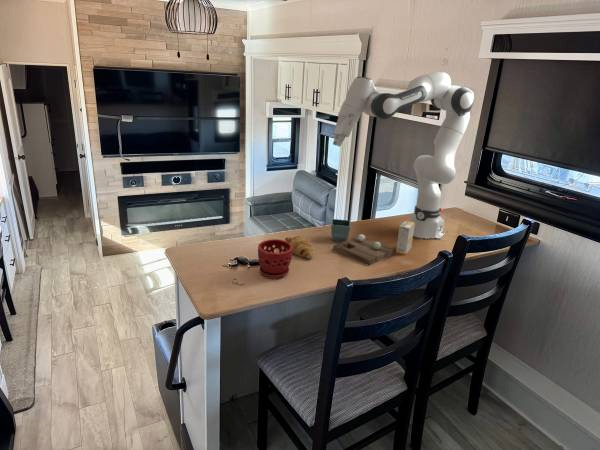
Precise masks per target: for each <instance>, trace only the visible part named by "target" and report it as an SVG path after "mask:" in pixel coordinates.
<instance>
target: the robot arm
mask: <svg viewBox="0 0 600 450" xmlns="http://www.w3.org/2000/svg"><path fill="white" fill-rule="evenodd" d="M429 101H430V103H431V105H432V106H433V107H434V108H435V109H438V110H442V111H445V118H444V119H443V121H442V123H441V125H440V128H439V130H438V132H437V134H436V136H435V138H434V140H433V145H434V152H433V153H434V154H433V155H429V154H422V155H419V156H417V158H416V159H415V160H414V162H413V170H414V172H415V175H416V179H417V180H416V181H417V197H416V205H415V206H414V211H413V214H412V215H411V217H410V221H409V222H413V223H415V226H414V233H413V237H415V238H418V239H419V238H420V239H423V238H425V239H426V240H430V239H429V238H437V239H436V240H439V239H440V238H441V237H442V236H443V235H444V234H445V233H444V234H443V233H441V232H442V231H443V229H444V228H445V219H443V217H441V212H443V207H440V205H441V200H442V191H441V189H440V186H439V184H440V185H448V184H451V183H452V182H453V181H454V180H455V177H456V174H457V172H456V167H455V159H456V153H457V150H458V148H459V145H460V143H461V141H462V140H463V137H464V134H465V133H466V130H467V129H468V125H469V123H470V119H471V114H470V111H471V110H472V107H473V105H474V101H475V95H474V91H472V90H471V89H470V88H468V87H465V86H459V85H452V81H451V77H450V75H449V74H448V73H446V72H444V71H438V72H437V71H436V72H430V73H426V74H423V75H419V76H417V77H415V78H413V79H411V80H410V81H409V83H408V85H407V89H406V90H403V91H400V92H398V93H388V92H379V90H378V89H377V88H376V86H375V83H374V80H373V79H371V78H369V77H365V76H356V77H354V79H353V81H352V82H351V84H350V85H349V88H348V90H347V93H346V97H345V100H344V101H343V102H342V105H341V106H340V110H339V111H338V114H337V117H338V118H337V121H336V124H335V126H334V131H333V134H334V140H333V143H332V144H333V145H334V146H337V147H341V146H342V144H343V142H344V141H345V139H346V138H349V137H350V135H351V133H352V130H353V128H354V125H355V123H358V122H359V119H360V117H361V115H362V113H364V114H365V115H366V116H369V117H374V118H378V119H380V120H381V119H383V120H388V119H391V118H392V117H393V116H394V115H396V113H398V112H399V111H400V110H402V109H405V108H408V107H410V106H413V105H415V104H421V103H425V102H429ZM445 235H446V234H445ZM445 235H444V236H445ZM444 236H443V237H444ZM443 237H442V238H443ZM427 238H428V239H427ZM425 239H424V240H425ZM440 240H441V239H440Z"/></svg>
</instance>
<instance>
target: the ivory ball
mask: <svg viewBox="0 0 600 450" xmlns="http://www.w3.org/2000/svg"><path fill="white" fill-rule="evenodd" d="M357 236H358V240H359V241H364V240H365V239H366V235H364V234H363V233H362V234H359V235H357Z"/></svg>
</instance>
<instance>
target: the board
mask: <svg viewBox="0 0 600 450" xmlns="http://www.w3.org/2000/svg"><path fill="white" fill-rule="evenodd" d="M358 236H359V235H357V236H354V237H351V238H349V239H347V240H346V241H343V242H338V243H336V244H333V245H332V252H335V253H338V254H341V255H343V256H345V257H347V258H350V259H352V260H355V261H357V262H360V263H362V264H365V265H367V266H368V267H369V266H371V265H374V264H376V263H378V262H380V261H382V260H384V259H386V258H389V257H390V256H393V255H394V252H395V249H394V248H391V247H389V246H387V245H384V244H381V248H380V249H375V248H374V247H373V244H374V243H375V242H376V241H373V240H370V239H367V238H365V240H364V241H359V240H358Z"/></svg>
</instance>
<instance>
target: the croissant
mask: <svg viewBox="0 0 600 450" xmlns="http://www.w3.org/2000/svg"><path fill="white" fill-rule="evenodd" d="M284 241H286V242H288V243H290V244H291V245H292V255H293V256H298V257H300V258H306V259H307V260H311V259H314V250H313V247H312V245H311V244H310V243H309V241H308V239H306V238H305V237H303V236H300V235H297V236H295V237H291V236H290V237H285V239H284Z"/></svg>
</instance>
